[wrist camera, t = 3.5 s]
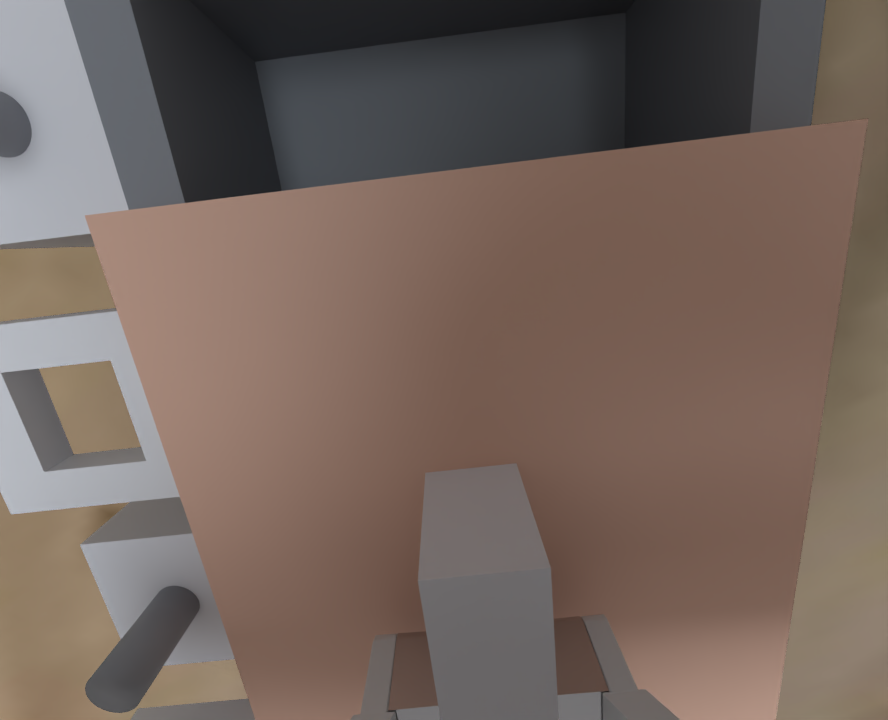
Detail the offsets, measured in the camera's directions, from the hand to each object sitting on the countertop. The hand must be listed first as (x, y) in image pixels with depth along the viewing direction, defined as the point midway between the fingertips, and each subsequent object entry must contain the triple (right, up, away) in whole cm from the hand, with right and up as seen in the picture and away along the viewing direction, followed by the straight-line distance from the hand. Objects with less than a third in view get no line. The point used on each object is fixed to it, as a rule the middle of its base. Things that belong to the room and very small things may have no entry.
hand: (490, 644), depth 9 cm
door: (-2, 0, +2) cm, 3 cm away
